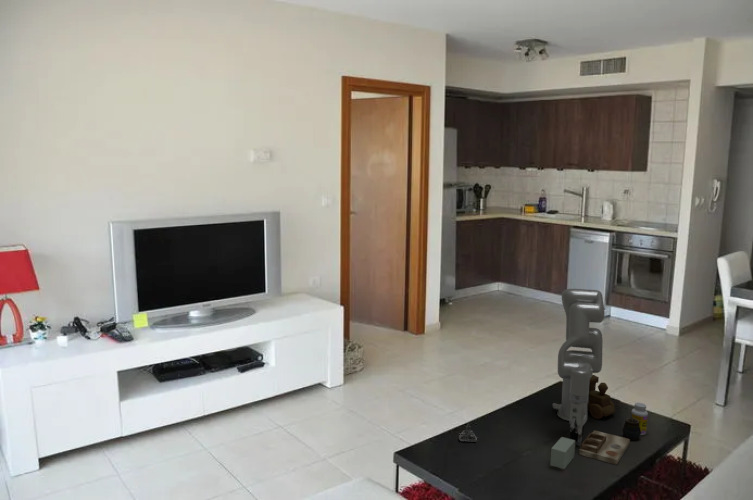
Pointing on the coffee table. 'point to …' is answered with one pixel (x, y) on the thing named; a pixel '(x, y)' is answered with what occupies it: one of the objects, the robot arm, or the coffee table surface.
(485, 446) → the coffee table surface
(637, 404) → the supplement bottle
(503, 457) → the coffee table surface
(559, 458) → the housing
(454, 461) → the coffee table surface
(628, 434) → the mate gourd
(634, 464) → the coffee table surface
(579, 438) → the peg
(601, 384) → the wooden toy train
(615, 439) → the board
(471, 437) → the house of cards
